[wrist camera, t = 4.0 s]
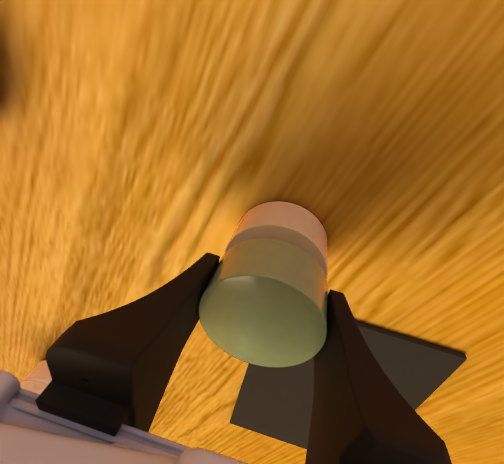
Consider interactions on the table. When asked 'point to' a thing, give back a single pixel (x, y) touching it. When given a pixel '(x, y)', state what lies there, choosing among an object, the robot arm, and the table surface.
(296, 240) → the cream cylinder
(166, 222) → the table surface
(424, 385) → the mat
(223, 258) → the sage green puck
